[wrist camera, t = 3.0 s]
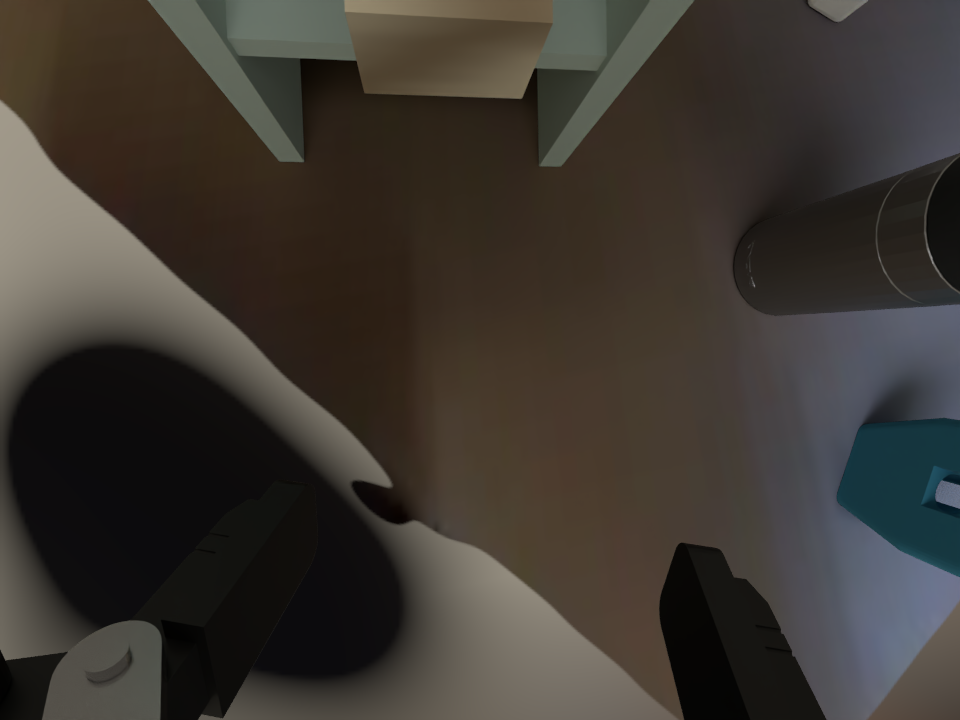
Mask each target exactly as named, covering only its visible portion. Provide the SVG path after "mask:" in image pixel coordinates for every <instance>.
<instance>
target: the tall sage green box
mask: <svg viewBox="0 0 960 720" xmlns="http://www.w3.org/2000/svg"><path fill="white" fill-rule="evenodd" d="M148 1H149V2H150V3H151V5H152V6H153V7H154V8H155V10H156V11H157V12H158V13H159V14H160V16H161V17H162V18H163V19H164V21H165V22H166V23H167V24H168V26H169V27H170V28H171V29H172V30H173V32H174V33H175V34H176V35H177V37H178V38H179V39H180V40H181V41H182V43H183V44H184V45H185V46H186V48H187V49H188V50H189V51H190V52H191V54H192V55H193V56H194V57H195V59H196V60H197V61H198V62H199V64H200V65H201V66H202V67H203V68H204V70H205V71H206V72H207V73H208V75H209V76H210V77H211V78H212V79H213V81H214V82H215V83H216V84H217V86H218V87H219V88H220V89H221V91H222V92H223V93H224V94H225V95H226V97H227V98H228V99H229V100H230V102H231V103H232V104H233V105H234V106H235V108H236V109H237V110H238V111H239V113H240V114H241V115H242V116H243V117H244V119H245V120H246V121H247V122H248V124H249V125H250V126H251V127H252V129H253V130H254V131H255V132H256V133H257V135H258V136H259V137H260V138H261V140H262V141H263V142H264V143H265V144H266V146H267V147H268V148H269V149H270V151H271V152H272V153H273V154H274V155H275V157H276V158H277V159H278V160H279V162H304V139H303V115H302V90H301V66H300V58H308V59H331V60H355V61H357V60H356V56H355V52H354V48H353V44H352V40H351V36H350V31H349V27H348V23H347V19H346V15H345V4H344V0H148ZM693 1H694V0H553V24H552V27H551V29H550V32H549V34H548V36H547V39H546V41H545V44H544V46H543V49H542V51H541V53H540V56H539V58H538V61H537V63H536V66H535V68H537V87H538V143H539V166H551V167H561V166H562V165H563V163H564V162H565V161H566V160H567V159H568V157H569V156H570V155H571V154H572V152H573V151H574V150H575V149H576V147H577V146H578V145H579V144H580V142H581V141H582V140H583V139H584V137H585V136H586V135H587V134H588V132H589V131H590V130H591V129H592V127H593V126H594V125H595V124H596V122H597V121H598V120H599V119H600V117H601V116H602V115H603V114H604V112H605V111H606V110H607V109H608V107H609V106H610V105H611V104H612V102H613V101H614V100H615V99H616V97H617V96H618V95H619V94H620V92H621V91H622V90H623V89H624V87H625V86H626V85H627V84H628V82H629V81H630V80H631V79H632V77H633V76H634V75H635V74H636V72H637V71H638V70H639V69H640V67H641V66H642V65H643V64H644V62H645V61H646V60H647V59H648V58H649V56H650V55H651V54H652V53H653V51H654V50H655V49H656V48H657V46H658V45H659V44H660V43H661V41H662V40H663V39H664V38H665V36H666V35H667V34H668V33H669V31H670V30H671V29H672V28H673V26H674V25H675V24H676V23H677V21H678V20H679V19H680V18H681V16H682V15H683V14H684V13H685V11H686V10H687V9H688V8H689V6H690V5H691V4H692V3H693Z"/></svg>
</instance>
